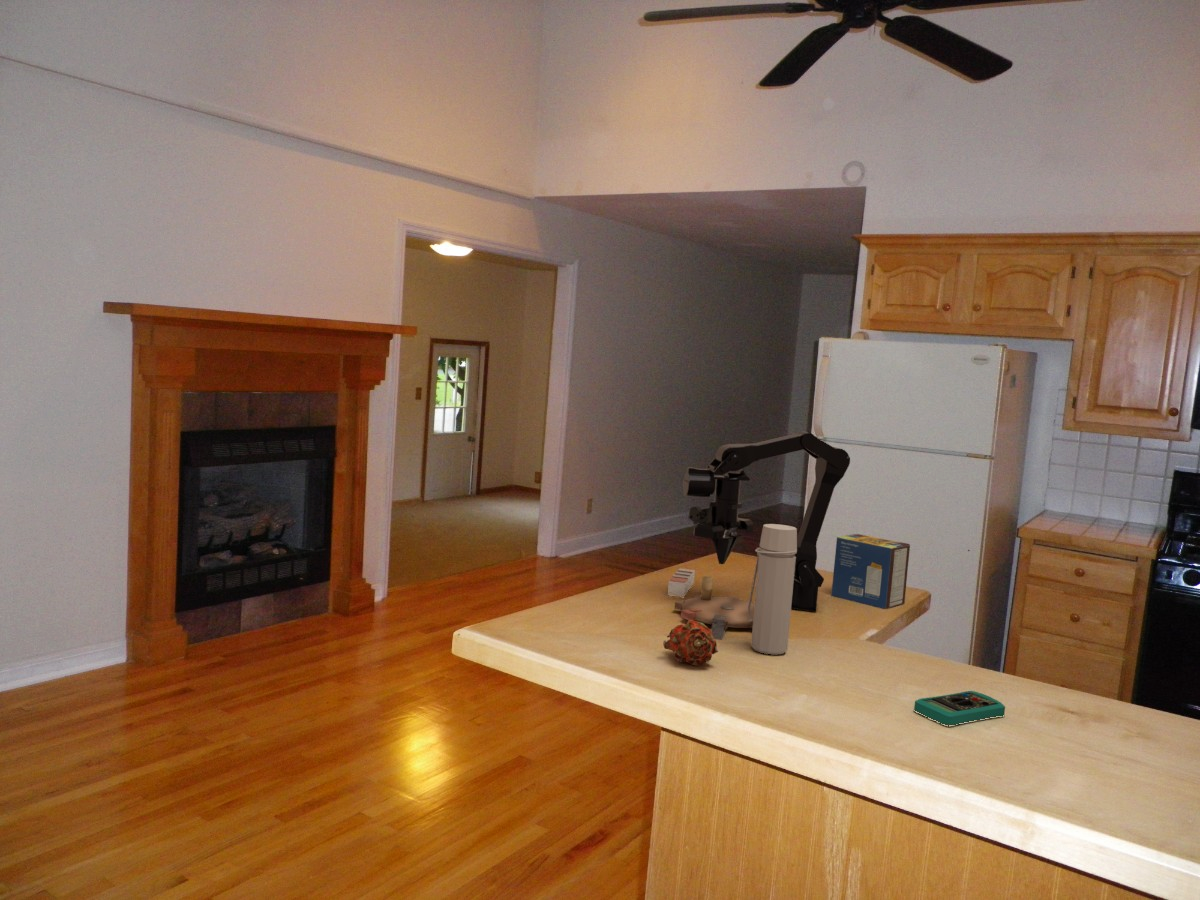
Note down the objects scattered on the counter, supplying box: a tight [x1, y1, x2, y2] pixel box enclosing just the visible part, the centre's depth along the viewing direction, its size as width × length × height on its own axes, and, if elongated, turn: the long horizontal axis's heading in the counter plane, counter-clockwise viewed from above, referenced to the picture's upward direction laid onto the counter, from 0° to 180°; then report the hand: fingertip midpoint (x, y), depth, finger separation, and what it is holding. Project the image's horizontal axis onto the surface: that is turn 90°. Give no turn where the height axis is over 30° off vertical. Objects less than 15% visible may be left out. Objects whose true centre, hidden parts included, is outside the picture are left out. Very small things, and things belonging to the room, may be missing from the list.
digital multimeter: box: [913, 690, 1006, 726], centre depth 152 cm, size 7×15×3 cm, turn 119°
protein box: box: [830, 533, 911, 610], centre depth 229 cm, size 10×15×16 cm
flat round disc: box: [674, 576, 755, 630], centre depth 201 cm, size 23×23×6 cm
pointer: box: [710, 614, 726, 640], centre depth 187 cm, size 2×5×4 cm, turn 165°
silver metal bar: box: [667, 568, 696, 598], centre depth 226 cm, size 4×16×4 cm, turn 165°
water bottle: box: [748, 523, 798, 656], centre depth 179 cm, size 9×8×25 cm
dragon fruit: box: [663, 620, 719, 667], centre depth 169 cm, size 8×8×12 cm
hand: (721, 563), depth 213 cm, fingers closed
